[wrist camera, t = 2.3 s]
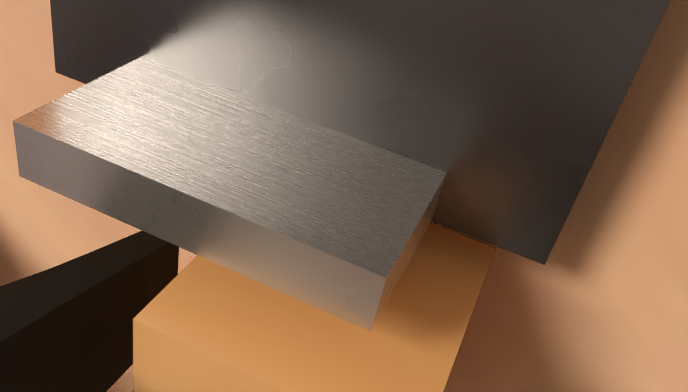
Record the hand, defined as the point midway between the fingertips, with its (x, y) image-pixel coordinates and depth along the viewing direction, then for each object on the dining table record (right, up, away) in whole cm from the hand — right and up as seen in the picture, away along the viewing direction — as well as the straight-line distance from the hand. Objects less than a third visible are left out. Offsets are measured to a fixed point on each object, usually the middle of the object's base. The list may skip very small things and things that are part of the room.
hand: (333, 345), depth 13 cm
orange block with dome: (+1, +1, +2) cm, 2 cm away
